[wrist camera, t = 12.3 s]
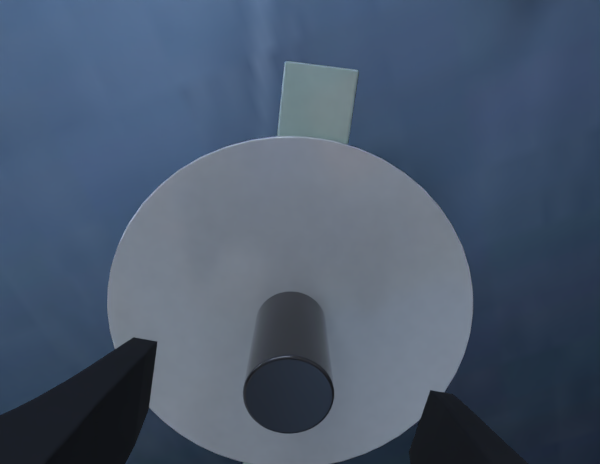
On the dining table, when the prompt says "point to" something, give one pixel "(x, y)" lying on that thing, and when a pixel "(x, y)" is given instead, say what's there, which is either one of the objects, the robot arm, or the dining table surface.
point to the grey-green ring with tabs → (317, 101)
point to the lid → (292, 300)
